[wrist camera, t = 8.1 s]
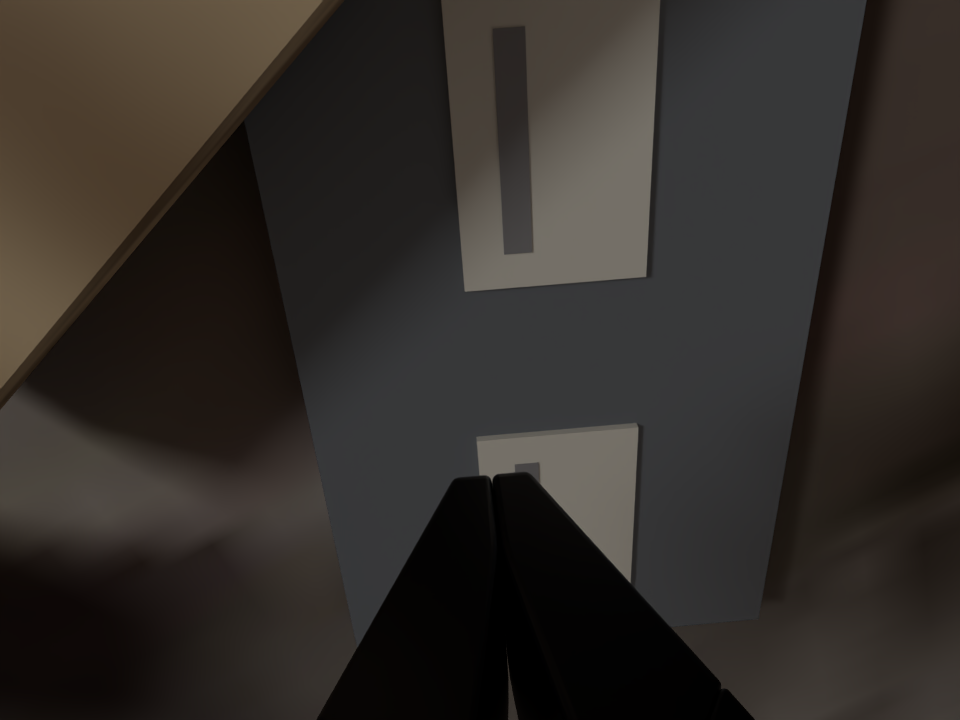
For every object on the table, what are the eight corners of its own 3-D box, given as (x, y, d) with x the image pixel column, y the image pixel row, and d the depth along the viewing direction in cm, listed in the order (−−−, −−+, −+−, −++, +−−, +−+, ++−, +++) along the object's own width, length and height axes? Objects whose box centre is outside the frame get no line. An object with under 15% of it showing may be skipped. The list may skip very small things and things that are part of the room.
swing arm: (555, -682, 9) (650, -1180, 5) (714, -403, 11) (888, -627, 7) (-165, 348, 16) (-376, 485, 12) (-7, 441, 17) (-147, 593, 13)
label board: (743, 588, 23) (761, 625, 22) (362, 623, 23) (358, 662, 21) (857, -140, 14) (900, -151, 12) (215, -94, 13) (193, -100, 12)
